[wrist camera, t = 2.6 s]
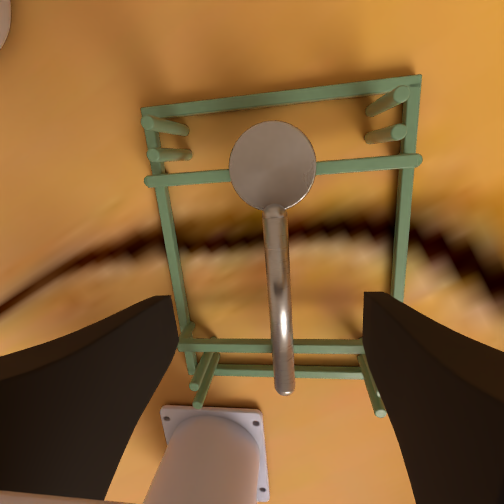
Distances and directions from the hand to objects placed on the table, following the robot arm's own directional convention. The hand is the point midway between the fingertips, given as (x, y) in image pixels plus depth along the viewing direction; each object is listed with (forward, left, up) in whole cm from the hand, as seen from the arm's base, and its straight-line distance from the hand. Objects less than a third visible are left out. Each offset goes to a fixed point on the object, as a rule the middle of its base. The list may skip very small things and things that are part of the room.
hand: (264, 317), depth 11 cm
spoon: (0, 0, -5) cm, 5 cm away
